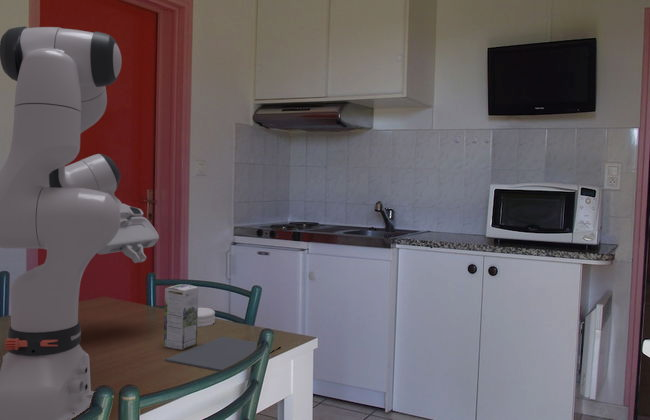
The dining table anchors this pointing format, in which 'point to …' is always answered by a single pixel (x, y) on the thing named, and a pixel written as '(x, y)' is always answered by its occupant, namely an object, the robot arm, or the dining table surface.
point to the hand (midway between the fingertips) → (141, 260)
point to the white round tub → (205, 317)
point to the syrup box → (180, 316)
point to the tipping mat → (216, 353)
